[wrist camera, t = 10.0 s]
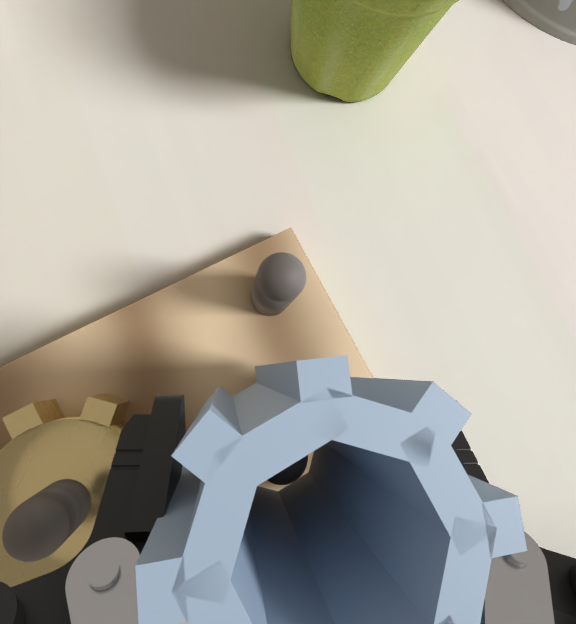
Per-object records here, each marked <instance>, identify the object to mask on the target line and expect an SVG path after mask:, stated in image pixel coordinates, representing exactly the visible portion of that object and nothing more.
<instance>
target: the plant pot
mask: <svg viewBox="0 0 576 624" xmlns="http://www.w3.org/2000/svg"><path fill="white" fill-rule="evenodd" d="M457 1H459V0H292V1H291V37H290V47H291V55H292V59H293V62H294V65H295V67H296V69H297V71H298V72H299V74H300V76H301V77H302V78H303V79H304V80H305V82H306V83H307V84H308V85H309V86H310V87H312V88H313V89H314V90H316V91H317V92H319V93H324V94H329V95H332V96H334V97H337V98H339V99H341V100H343V101H345V102H357V101H362V100H366V99H368V98H371V97H373V96H375V95H376V94H378V93H379V92H381V91H382V90H383V89H384V88H385V87H386V86H387V85H388V84H389V82H390V81H391V80H392V79H393V77H394V76H395V75H396V74H397V72H398V71H399V70H400V69H401V67H402V66H403V65H404V64H405V62H406V61H407V60H408V59H409V57H410V56H411V55H412V54H413V53H414V51H415V50H416V49H417V48H418V46H419V45H420V44H421V43H422V41H423V40H424V39H425V38H426V36H427V35H428V34H429V33H430V31H431V30H432V29H433V28H434V27H435V25H436V24H437V23H438V22H439V20H440V19H441V18H442V17H443V16H444V14H445V13H446V12H447V11H448V10H449V8H450V7H451V6H452V5H453V4H454V3H456V2H457Z"/></svg>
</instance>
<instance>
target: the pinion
mask: <svg viewBox="0 0 576 624" xmlns="http://www.w3.org/2000/svg"><path fill="white" fill-rule="evenodd" d="M255 373H256V383H255V384H253V385H251V386H250V387H248V388H246V389H244V390H242V391H241V392H239V393H237V394H235V395H233V396H232V395H231V394H229V393H228V392H227V391H226V390H225V389H223V388H222V387H221V386H219V387H218V388H217V389H216V390H215V392H214V393H213V394H212V395H211V396H210V398H209V399H208V400H207V401H206V403H205V404H204V405H203V407H202V409H201V410H200V412H199V413H198V415H197V416H196V418H195V420H194V421H193V423H192V424H191V426H190V427H189V429H188V431H187V432H186V434H185V435H184V437H183V438H182V440H181V441H180V443H179V445H178V446H177V448H176V449H175V451H174V452H173V454H172V457H173V458H174V459H176V460H177V461H178V462H179V463H181V464H182V473H181V477H180V480H179V482H178V484H177V487H176V489H175V491H174V494H173V496H172V499H171V501H170V503H169V506H168V508H167V510H166V513H165V515H164V517H161V518H157V520H156V522H155V524H154V527H153V529H152V531H151V533H150V535H149V537H148V540H147V542H146V544H145V546H144V548H143V550H142V552H141V555H140V557H139V559H138V561H137V563H136V565H135V569H136V588H137V606H138V624H178V623H183V622H187V623H188V624H480V622H481V616H482V611H483V605H484V599H485V594H486V588H487V582H488V576H489V571H490V565H491V559H492V558H495V557H500V556H505V555H510V554H514V553H519V552H524V551H527V547H526V541H525V535H524V529H523V523H522V518H521V512H520V506H519V500H518V496H516V495H514V494H512V493H509V492H507V491H505V490H502V489H500V488H498V487H495V486H493V485H491V484H488V483H486V482H484V481H482V480H479V479H477V478H475V477H472V476H470V475H468V474H467V473H466V472H465V470H464V468H463V466H462V464H461V462H460V461H459V459H458V457H457V455H456V453H455V452H454V450H453V448H452V446H451V445H452V443H453V442H454V440H455V439H456V437H457V435H458V434H459V432H460V431H461V429H462V428H463V426H464V425H465V423H466V422H467V420H468V418H469V417H470V415H471V413H470V412H469V411H468V410H467V409H465V408H464V407H463V406H462V405H461V404H459V403H458V402H457V401H456V400H455V399H453V398H452V397H451V396H450V395H448V394H447V393H446V392H445V391H444V390H442V389H441V388H440V387H439V386H438V385H436V384H435V383H434V382H432V381H414V380H396V379H379V378H361V377H350V371H349V363H348V355H345V356H336V357H327V358H318V359H308V360H299V361H291V362H283V363H275V364H268V365H260V366H255ZM313 451H314V453H313V457H312V460H311V464H310V468H309V472H308V473H307V474H305V475H303V476H302V477H300V478H299V479H297V480H296V481H294V482H292V483H291V484H289V485H287V486H286V487H284V488H283V489H281V490H280V491H275V490H271V489H267V488H264V487H260V486H258V485H259V484H261V483H263V482H264V481H266V480H268V479H269V478H271V477H272V476H274V475H276V474H277V473H279V472H281V471H282V470H284V469H285V468H287V467H289V466H290V465H292V464H294V463H295V462H297V461H298V460H300V459H302V458H303V457H305V456H307V455H308V454H310V453H311V452H313Z"/></svg>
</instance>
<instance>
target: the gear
mask: <svg viewBox="0 0 576 624" xmlns="http://www.w3.org/2000/svg"><path fill="white" fill-rule="evenodd" d="M129 401H130V400H127V399H123V398H120V397H116V396H112V395H109V394H105V393H102V394H97V395H92V396H88V397H87V400H86V403H85V405H84V408H83V411H82V413H81V414H75V415H70V416H67V417H64V415H63V413H62V411H61V409H60V407H59V405H58V403H57V401H56V399H51V400H45V401H39V402H34V403H31V404H29V405H27V406H25V407H23V408H21V409H19V410H17V411H15V412H13V413H11V414H9V415H7V416H5V417H3V418H2V419H3V421H4V423H5V426H6V428H7V430H8V432H9V434H10V436H11V438H12V440H11V441H10V442H8V443H7V444H6V445H5V446H4V447H3V448H2V449H1V450H0V582H3V583H5V584H7V585H8V586H10V587H13V586H16V585H18V584H21V583H24V582H26V581H29V580H31V579H34V578H37V577H39V576H42V575H45V574H47V573H50V572H52V571H54V570H57V569H58V568H60V567H62V566H64V565H65V564H66V563H68V562H69V561H70V560H72V559H73V558H74V557H75V556H76V555H77V554H78V553H79V552H80V551H81V550H82V548H83V547H84V546H85V544H86V543H87V541H88V539H89V537H90V535H91V533H92V530H93V527H94V523H95V520H96V516H97V513H98V509H99V506H100V502H101V499H102V496H103V492H104V489H105V485H106V482H107V478H108V475H109V471H110V469H111V464H112V461H113V457H114V454H115V453H116V447H117V443H118V440H119V436H120V433H121V430H122V429H123V428H124V426H125V425H126V424H127V422H125V421H123V418H124V416H125V413H126V410H127V407H128V404H129ZM62 479H73V480H76V481H78V482H80V483H82V484H83V485H84V486H85V487H86V488H87V490H88V491H89V494H90V497H91V508H90V512H89V514H88V516H87V518H86V519H85V521H84V522H83V523H82V524H81V525H80V526H79V527H78V528H77V529H76V530H75V531H74V532H73V533H72V535H71V536H70V537H69V538H68V539H67V540H66V541H65V542H64V543H63V544H62V545H61V546H60V547H59V548H58V549H57V550H56V551H55V552H54V553H52V554H51V555H49V556H48V557H46V558H44V559H41V560H38V561H33V562H24V561H19V560H16V559H14V558H13V557H11V556H10V555H9V554H8V553H7V552H6V550H5V548H4V546H3V542H2V532H3V528H4V525H5V522H6V520H7V518H8V517H9V515H10V514H11V513H12V511H13V510H14V509H15V508H16V507H17V506H19V505H20V504H21V503H23V502H24V501H26V500H27V499H29V498H30V497H32V496H33V495H35V494H36V493H38V492H39V491H41V490H42V489H44V488H45V487H47V486H49V485H50V484H52V483H53V482H55V481H58V480H62Z"/></svg>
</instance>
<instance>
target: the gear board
mask: <svg viewBox="0 0 576 624" xmlns="http://www.w3.org/2000/svg"><path fill="white" fill-rule="evenodd" d="M345 355H348V363H349V371H350V377H361V378H373V376H372V374H371V372H370V370H369V369H368V367H367V365H366V363H365V361H364V359H363V358H362V356H361V354H360V352H359V350H358V349H357V347H356V345H355V343H354V341H353V339H352V338H351V336H350V334H349V332H348V330H347V328H346V327H345V325H344V323H343V321H342V319H341V318H340V316H339V314H338V312H337V310H336V308H335V307H334V305H333V303H332V301H331V299H330V297H329V296H328V294H327V292H326V290H325V288H324V287H323V285H322V283H321V281H320V279H319V277H318V276H317V274H316V272H315V270H314V268H313V266H312V265H311V263H310V261H309V259H308V257H307V256H306V254H305V252H304V250H303V248H302V246H301V245H300V243H299V241H298V239H297V237H296V235H295V234H294V232H293V230H292V228H289V229H286V230H284V231H282V232H280V233H278V234H276V235H274V236H272V237H270V238H268V239H266V240H264V241H261V242H259V243H257V244H255V245H253V246H251V247H249V248H247V249H245V250H243V251H241V252H239V253H236V254H234V255H232V256H230V257H228V258H226V259H224V260H222V261H220V262H218V263H216V264H214V265H211V266H209V267H207V268H205V269H203V270H201V271H199V272H197V273H195V274H193V275H191V276H189V277H186V278H184V279H182V280H180V281H178V282H176V283H174V284H172V285H170V286H168V287H166V288H164V289H161V290H159V291H157V292H155V293H153V294H151V295H149V296H147V297H145V298H143V299H141V300H138V301H136V302H134V303H132V304H130V305H128V306H126V307H124V308H122V309H120V310H118V311H116V312H113V313H111V314H109V315H107V316H105V317H103V318H101V319H99V320H97V321H95V322H93V323H91V324H88V325H86V326H84V327H82V328H80V329H78V330H76V331H74V332H72V333H70V334H68V335H66V336H63V337H61V338H59V339H57V340H55V341H53V342H51V343H49V344H47V345H45V346H43V347H41V348H38V349H36V350H34V351H32V352H30V353H28V354H26V355H24V356H22V357H20V358H18V359H15V360H13V361H11V362H9V363H7V364H5V365H3V366H1V367H0V450H1V449H2V448H3V447H4V446H5V445H6V444H7V443H8V442H10V441H11V440H12V438H11V436H10V434H9V432H8V430H7V428H6V426H5V423H4V421H3V419H2V418H3V417H5V416H7V415H9V414H11V413H13V412H15V411H17V410H19V409H21V408H23V407H25V406H27V405H29V404H31V403H34V402H39V401H45V400H51V399H56V401H57V403H58V405H59V407H60V409H61V411H62V413H63V415H64V417H67V416H70V415H75V414H81V413H82V411H83V408H84V405H85V403H86V400H87V397H88V396H92V395H97V394H102V393H105V394H109V395H112V396H116V397H120V398H123V399H127V400H130V401H129V404H128V407H127V410H126V413H125V416H124V418H123V421H125V422H127V423H128V421H129V420H130V419H131V418H132V416H133V415H134V414H151V412H152V407H153V403H154V399H155V396H156V394H183V395H184V402H185V424H186V432H187V431H188V429H189V427H190V426H191V424H192V423H193V421H194V420H195V418H196V416H197V415H198V413H199V412H200V410H201V409H202V407H203V405H204V404H205V403H206V401H207V400H208V399H209V398H210V396H211V395H212V394H213V393H214V392H215V390H216V389H217V388H218V387H219V386H221V387H222V388H223V389H225V390H226V391H227V392H228V393H229V394H231V395H232V396H233V395H235V394H237V393H239V392H241V391H242V390H244V389H246V388H248V387H250V386H251V385H253V384H255V383H256V373H255V366H260V365H268V364H275V363H283V362H291V361H299V360H308V359H318V358H327V357H336V356H345ZM313 453H314V451H313V452H311V453H310V454H308V455H307V456H305V457H303V458H302V459H300V460H298V461H297V462H295V463H294V464H292V465H290V466H289V467H287V468H285V469H284V470H282V471H281V472H279V473H277V474H276V475H274V476H272V477H271V478H269V479H268V480H266V481H264V482H263V483H261V484H259V485H258V486H260V487H264V488H267V489H271V490H275V491H280V490H281V489H283V488H284V487H286V486H287V485H289V484H291V483H292V482H294V481H296V480H297V479H299V478H300V477H302V476H303V475H305V474H307V473H308V472H309V468H310V464H311V460H312V457H313ZM90 508H91V497H90V494H89V491H88V490H87V488H86V487H85V486H84V485H83V484H82V483H80V482H78V481H76V480H73V479H62V480H58V481H55V482H53V483H52V484H50V485H49V486H47V487H45V488H44V489H42V490H41V491H39V492H38V493H36V494H35V495H33V496H32V497H30V498H29V499H27V500H26V501H24V502H23V503H21V504H20V505H19V506H17V507H16V508H15V509H14V510H13V511H12V513H11V514H10V515H9V517H8V518H7V520H6V522H5V525H4V528H3V532H2V542H3V546H4V548H5V550H6V552H7V553H8V554H9V555H10V556H11V557H13V558H14V559H16V560H19V561H24V562H33V561H38V560H41V559H44V558H46V557H48V556H49V555H51V554H52V553H54V552H55V551H56V550H57V549H58V548H59V547H60V546H61V545H62V544H63V543H64V542H65V541H66V540H67V539H68V538H69V537H70V536H71V535H72V533H73V532H74V531H75V530H76V529H77V528H78V527H79V526H80V525H81V524H82V523H83V522H84V521H85V519H86V518H87V516H88V514H89V512H90ZM178 624H188V623H187V622H183V623H178Z"/></svg>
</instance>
